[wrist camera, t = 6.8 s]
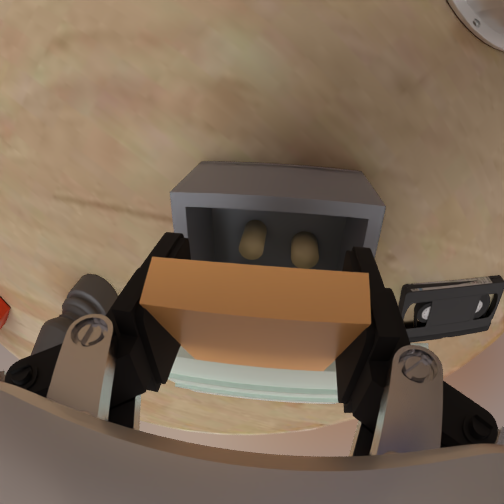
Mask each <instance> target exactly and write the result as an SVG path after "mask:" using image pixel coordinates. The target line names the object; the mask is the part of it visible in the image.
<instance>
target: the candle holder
mask: <svg viewBox="0 0 504 504" xmlns="http://www.w3.org/2000/svg"><path fill="white" fill-rule="evenodd" d="M117 298H118V297H117V294H116V292H115V290H114V289H113V287H112V286H111V285H110V284H109V283H108V282H107V281H106V280H105V279H103V278H101V277H99V276H97V275H93V274H87V275H84V276H82V278H81V279H80V280H79V281H78V282H77V283H76V285H75V286H74V287H73V288H72V289H71V291H70V292H69V294H68V295H67V299H66V300H65V301H64V303H63V305H62V309H63V310H62V314H61V315H60V316H59V317H57V318H53V319H50V320H48V321H47V322H45V323H44V325H43V326H42V328H41V330H40V333H39V335H38V338H37V340H36V343H35V345H34V348H33V351H32V353H31V355H34V354H36V353H39V352H41V351H44V350H46V349H49V348H52V347H54V346H57V345H59V344H62V343H63V341H64V338H65V335H66V332H67V330H68V328H69V326H70V325H71V324H72V323H73V322H74V321H75V320H77V319H79V318H80V317H83V316H85V315H89V314H101V315H104V316H105V315H106V314H107V312H108V311H109V309H110V308H111V306H112V305H113V303H114V302H115V300H116V299H117Z"/></svg>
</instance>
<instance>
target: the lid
mask: <svg viewBox="0 0 504 504" xmlns="http://www.w3.org/2000/svg"><path fill="white" fill-rule="evenodd" d="M139 304H140V305H141V306H142V307H143V308H145V309H146V310H147V311H148V312H149V313H150V314H151V315H152V316H153V317H154V318H155V319H156V320H157V321H158V322H159V323H160V324H161V325H162V326H163V327H164V328H165V329H166V330H167V331H168V332H169V333H170V334H171V335H172V336H173V337H174V338H175V339H176V340H177V341H178V342H179V343H180V344H181V346H180V348H179V351H178V354H177V356H176V359H175V361H174V364H173V367H172V369H171V372H170V375H169V377H168V379H169V380H171V381H173V382H175V386H176V387H180V388H186V389H190V390H192V391H195V392H202V393H208V394H215V395H222V396H230V397H238V398H247V399H256V400H267V401H280V402H295V403H319V404H335V403H339V402H338V395H337V378H336V364H335V359H336V358H337V357H338V356H339V355H340V354H341V353H342V352H343V351H344V350H345V349H346V348H347V347H348V346H349V345H350V344H351V343H352V342H353V341H354V340H355V339H356V338H357V337H358V336H359V335H360V334H361V333H362V332H363V331H364V330H365V329H366V328H368V327H369V326H370V325H371V306H370V286H369V273H360V272H345V271H330V270H316V269H302V268H288V267H274V266H261V265H248V264H235V263H222V262H210V261H198V260H186V259H174V258H162V257H152V259H151V263H150V266H149V270H148V273H147V277H146V280H145V284H144V288H143V291H142V295H141V299H140V303H139ZM411 345H419V346H422V347H425V348H427V349H428V343H414V344H411Z"/></svg>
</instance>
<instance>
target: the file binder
mask: <svg viewBox="0 0 504 504" xmlns="http://www.w3.org/2000/svg"><path fill="white" fill-rule="evenodd" d="M9 311H10V307H9V306H8V305H7V304H6V303H5V302H4V301H3V300H2V299H1V298H0V329H1V328H2V326H3V325H4V324H5V323H6V320H7V317H8V314H9Z"/></svg>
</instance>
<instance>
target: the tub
mask: <svg viewBox="0 0 504 504" xmlns="http://www.w3.org/2000/svg"><path fill="white" fill-rule="evenodd" d="M170 198H171V208H172V218H173V227H174V233H182V234H183V235H184V238H188V239H189V244H190V254H191V260H198V261H210V262H222V263H235V264H248V265H261V266H274V267H288V268H302V269H316V270H330V271H342V269H343V264H344V259H345V254H346V251H347V250H350V251H352V248H353V247H354V246H355V247H366V248H370V249H371V251H372V254H373V256H374V258H375V254H376V250H377V245H378V241H379V237H380V232H381V227H382V223H383V218H384V213H385V208H386V206H385V204H384V203H383V201H382V200H381V198H380V197H379V196H378V194H377V193H376V191H375V190H374V188H373V187H372V185H371V184H370V183H369V181H368V180H367V178H366V177H365V176H364V174H363V173H362V171H355V170H346V169H337V168H326V167H315V166H303V165H289V164H272V163H252V162H220V161H202V162H201V163H199V164H198V165H197V166H196V167H195V168H194V169H193V170H192V171H191V172H190V173H189V174H188V175H187V176H186V177H185V178H184V179H183V180H182V181H181V182H180V183H179V184H178V185H177V186H176V187H175V188H174V189H173V190H172V191H171V192H170Z"/></svg>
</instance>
